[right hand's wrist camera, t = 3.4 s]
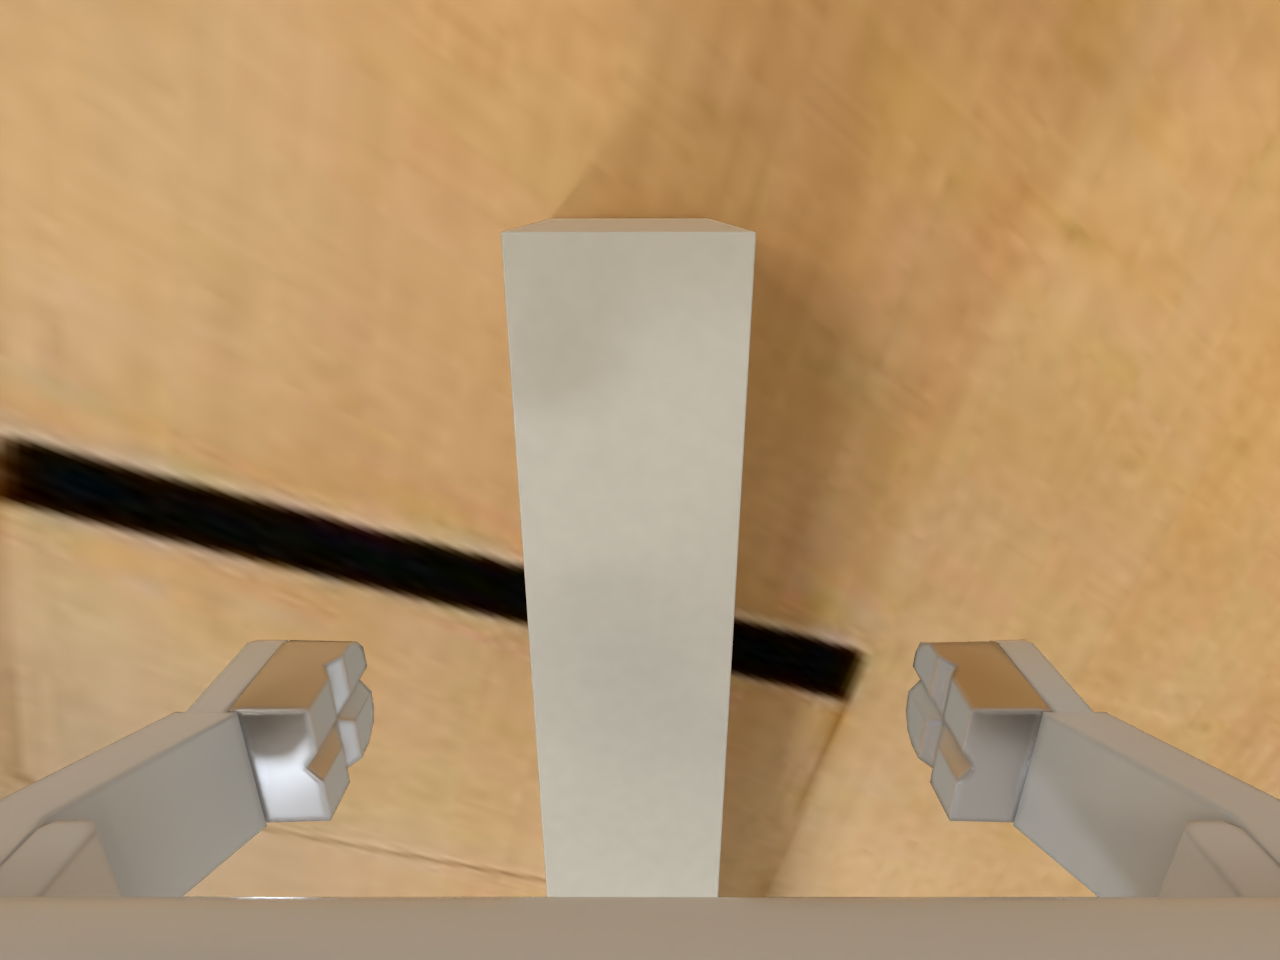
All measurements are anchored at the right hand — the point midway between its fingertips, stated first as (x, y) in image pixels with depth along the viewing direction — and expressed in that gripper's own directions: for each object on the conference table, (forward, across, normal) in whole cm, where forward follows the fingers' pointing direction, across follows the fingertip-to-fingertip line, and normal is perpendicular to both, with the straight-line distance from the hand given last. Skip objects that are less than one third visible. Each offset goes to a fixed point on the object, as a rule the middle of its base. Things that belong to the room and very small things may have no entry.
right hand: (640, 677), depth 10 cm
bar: (+14, 0, -23) cm, 27 cm away
